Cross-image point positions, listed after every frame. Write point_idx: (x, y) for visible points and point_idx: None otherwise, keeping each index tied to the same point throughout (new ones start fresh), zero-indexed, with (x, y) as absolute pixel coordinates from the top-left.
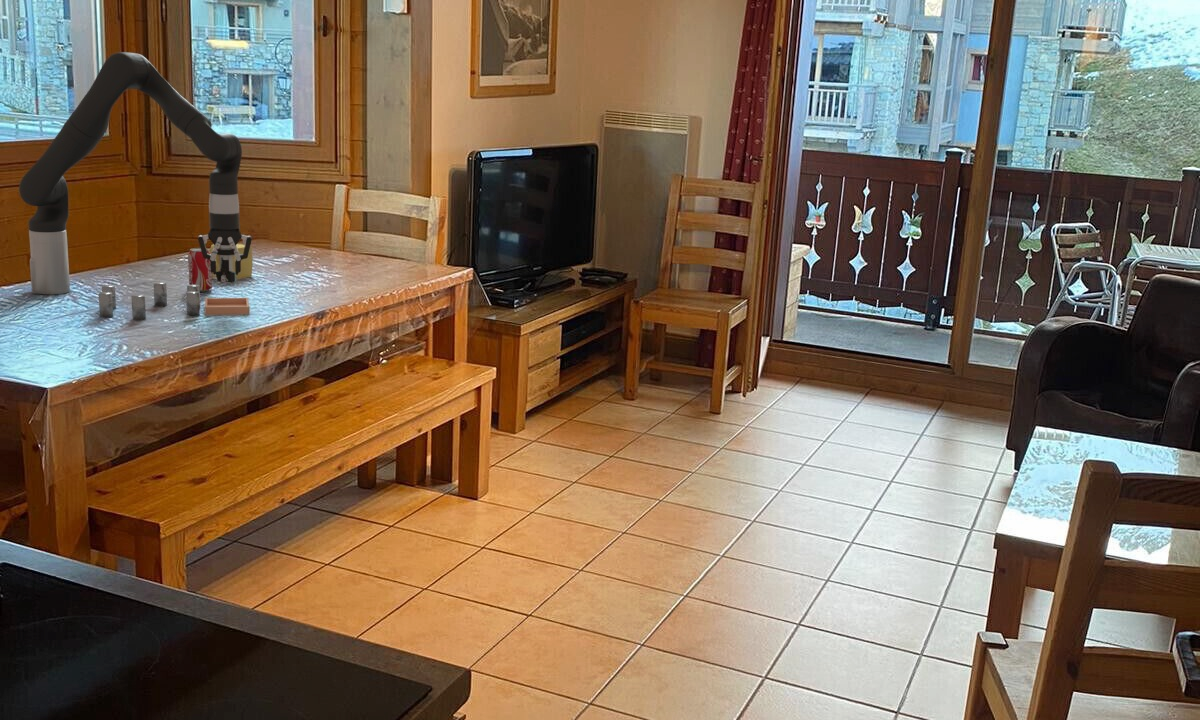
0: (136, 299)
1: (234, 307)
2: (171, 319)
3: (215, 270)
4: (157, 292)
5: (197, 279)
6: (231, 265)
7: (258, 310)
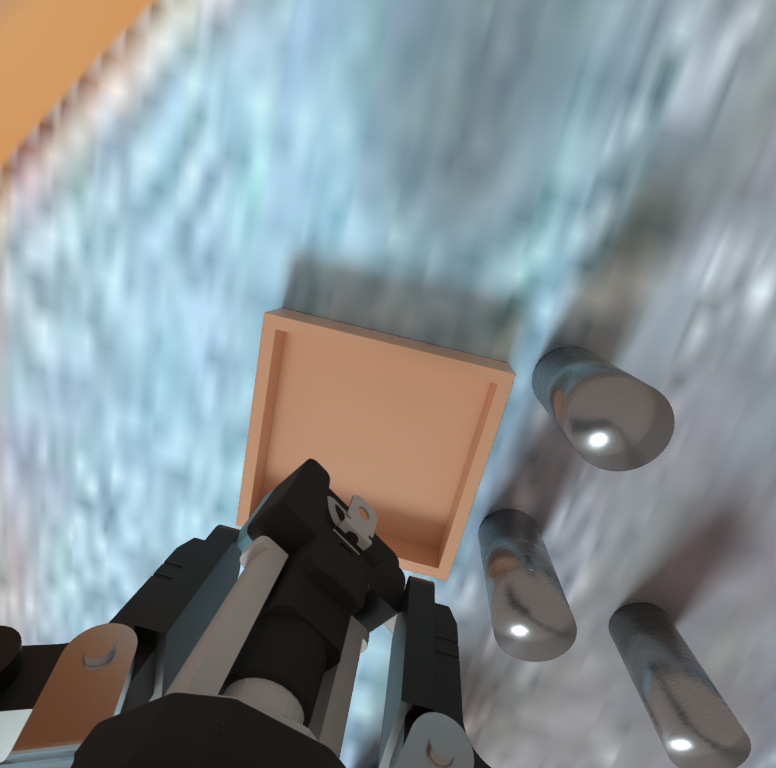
0: None
1: (348, 333)
2: (721, 311)
3: (414, 604)
4: (706, 675)
5: None
6: (237, 591)
7: (223, 386)
